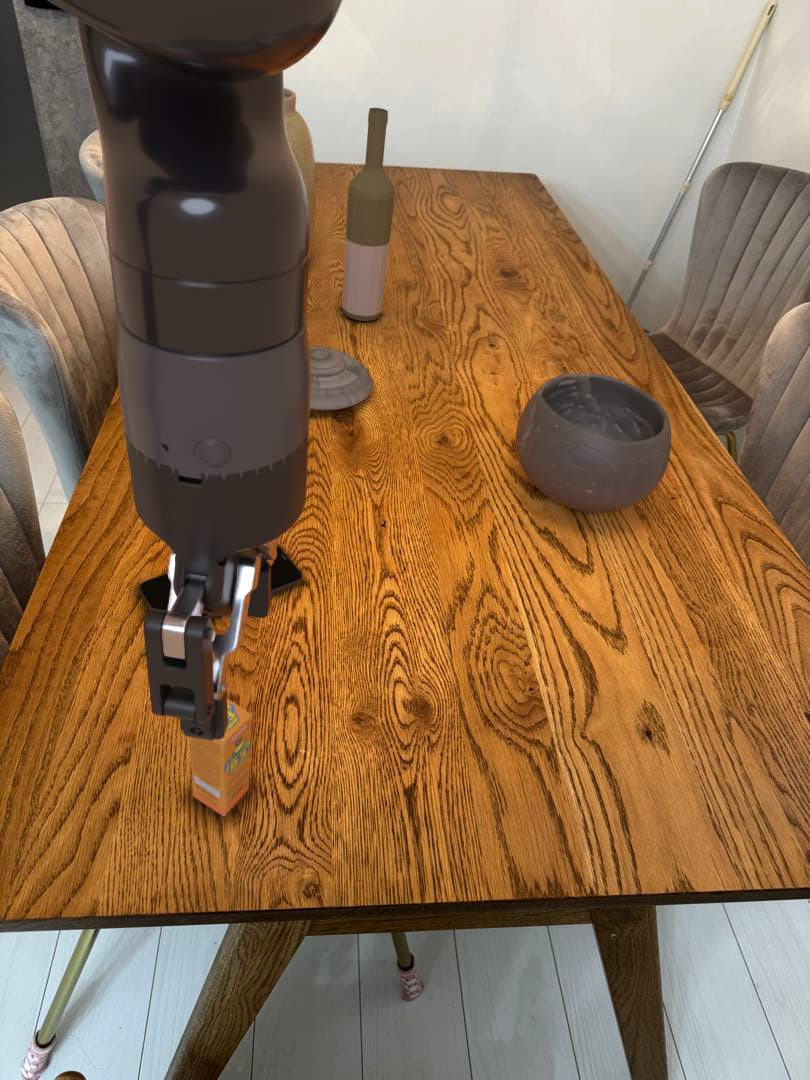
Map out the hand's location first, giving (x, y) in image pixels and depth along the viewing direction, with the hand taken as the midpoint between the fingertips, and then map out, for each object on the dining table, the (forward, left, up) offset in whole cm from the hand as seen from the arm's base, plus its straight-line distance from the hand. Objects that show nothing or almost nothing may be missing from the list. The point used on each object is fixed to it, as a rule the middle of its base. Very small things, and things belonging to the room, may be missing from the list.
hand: (229, 667), depth 44 cm
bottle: (+58, +74, -24) cm, 97 cm away
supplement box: (+2, +7, -24) cm, 24 cm away
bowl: (+57, +23, -24) cm, 66 cm away
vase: (+53, +97, -24) cm, 113 cm away
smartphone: (+12, +28, -23) cm, 38 cm away
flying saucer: (+40, +57, -24) cm, 73 cm away
